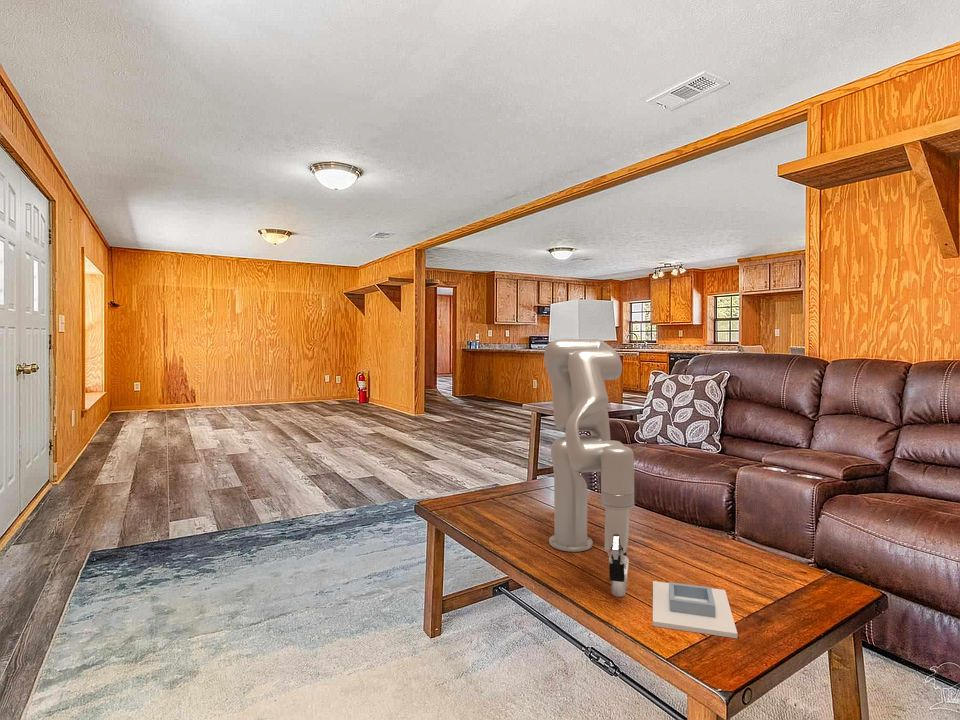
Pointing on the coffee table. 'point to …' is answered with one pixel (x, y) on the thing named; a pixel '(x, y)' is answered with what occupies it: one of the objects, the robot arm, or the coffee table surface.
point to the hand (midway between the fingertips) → (618, 572)
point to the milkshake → (620, 587)
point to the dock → (692, 609)
